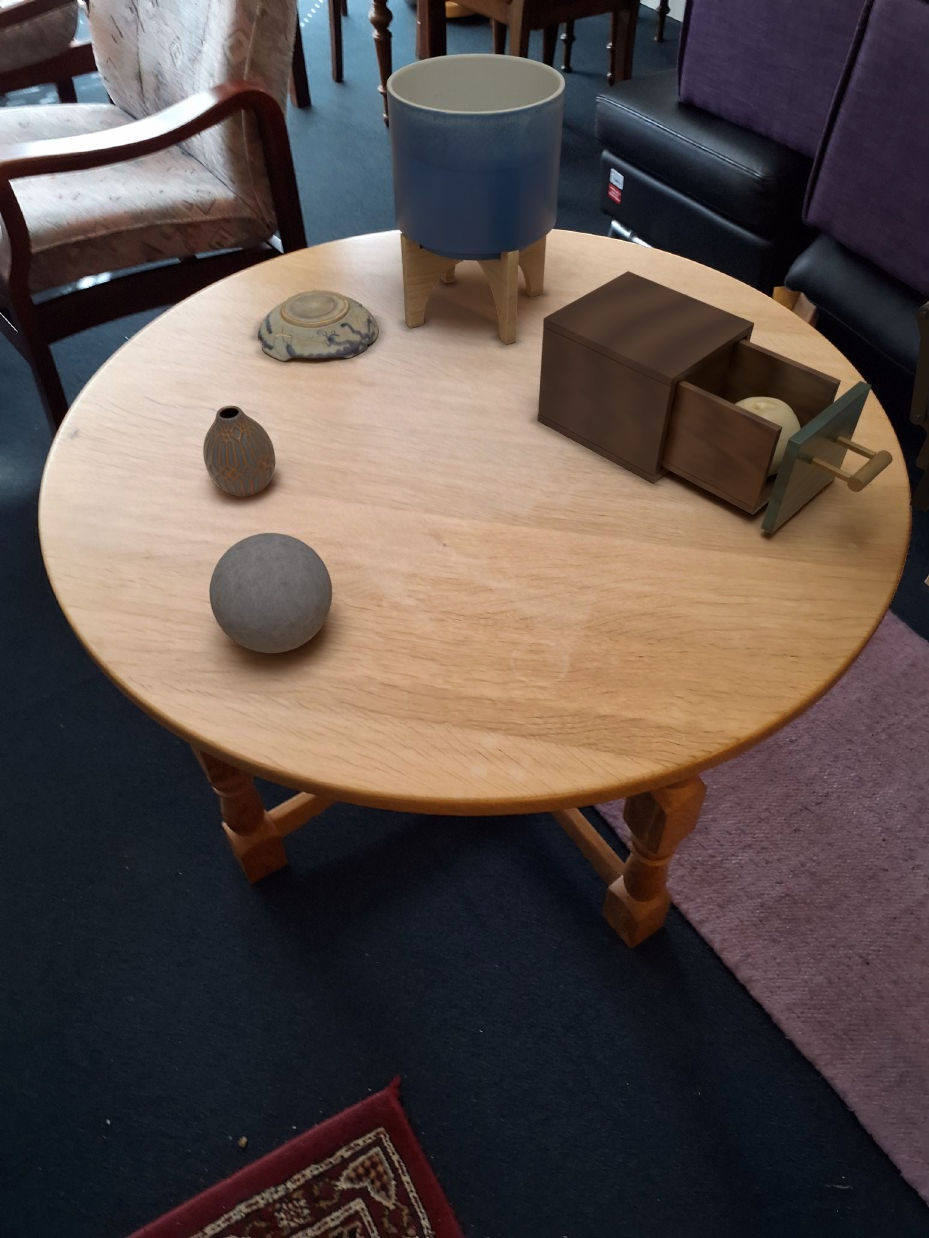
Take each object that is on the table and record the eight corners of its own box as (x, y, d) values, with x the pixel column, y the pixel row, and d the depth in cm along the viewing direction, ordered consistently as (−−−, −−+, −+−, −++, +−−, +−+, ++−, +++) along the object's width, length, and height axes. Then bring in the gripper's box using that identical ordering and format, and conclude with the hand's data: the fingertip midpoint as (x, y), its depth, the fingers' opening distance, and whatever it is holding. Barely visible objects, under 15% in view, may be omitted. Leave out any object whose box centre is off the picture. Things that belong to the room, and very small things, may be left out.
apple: (755, 500, 86) (729, 430, 82) (715, 481, 93) (691, 415, 89) (826, 460, 86) (804, 388, 82) (781, 444, 93) (759, 377, 90)
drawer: (887, 497, 88) (926, 408, 80) (821, 561, 82) (856, 471, 74) (716, 415, 98) (737, 328, 90) (646, 467, 92) (662, 379, 84)
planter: (578, 325, 113) (599, 93, 93) (440, 363, 107) (432, 125, 88) (506, 261, 124) (512, 44, 105) (378, 292, 119) (359, 69, 99)
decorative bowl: (232, 340, 111) (320, 379, 105) (226, 312, 108) (316, 350, 102) (316, 293, 119) (402, 326, 113) (312, 266, 117) (400, 299, 110)
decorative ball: (199, 639, 78) (170, 555, 70) (284, 576, 83) (265, 492, 75) (277, 696, 73) (255, 614, 66) (362, 626, 79) (350, 542, 71)
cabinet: (729, 426, 98) (754, 322, 89) (653, 483, 91) (672, 378, 82) (615, 371, 105) (628, 270, 96) (537, 420, 99) (543, 318, 90)
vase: (274, 506, 90) (258, 433, 83) (206, 506, 90) (185, 433, 83) (284, 463, 94) (270, 391, 88) (219, 463, 94) (200, 391, 88)
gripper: (935, 225, 62) (835, 487, 80) (1134, 288, 56) (978, 558, 74) (982, 192, 66) (876, 450, 84) (1174, 248, 60) (1016, 515, 77)
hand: (924, 501), depth 79 cm, fingers closed
